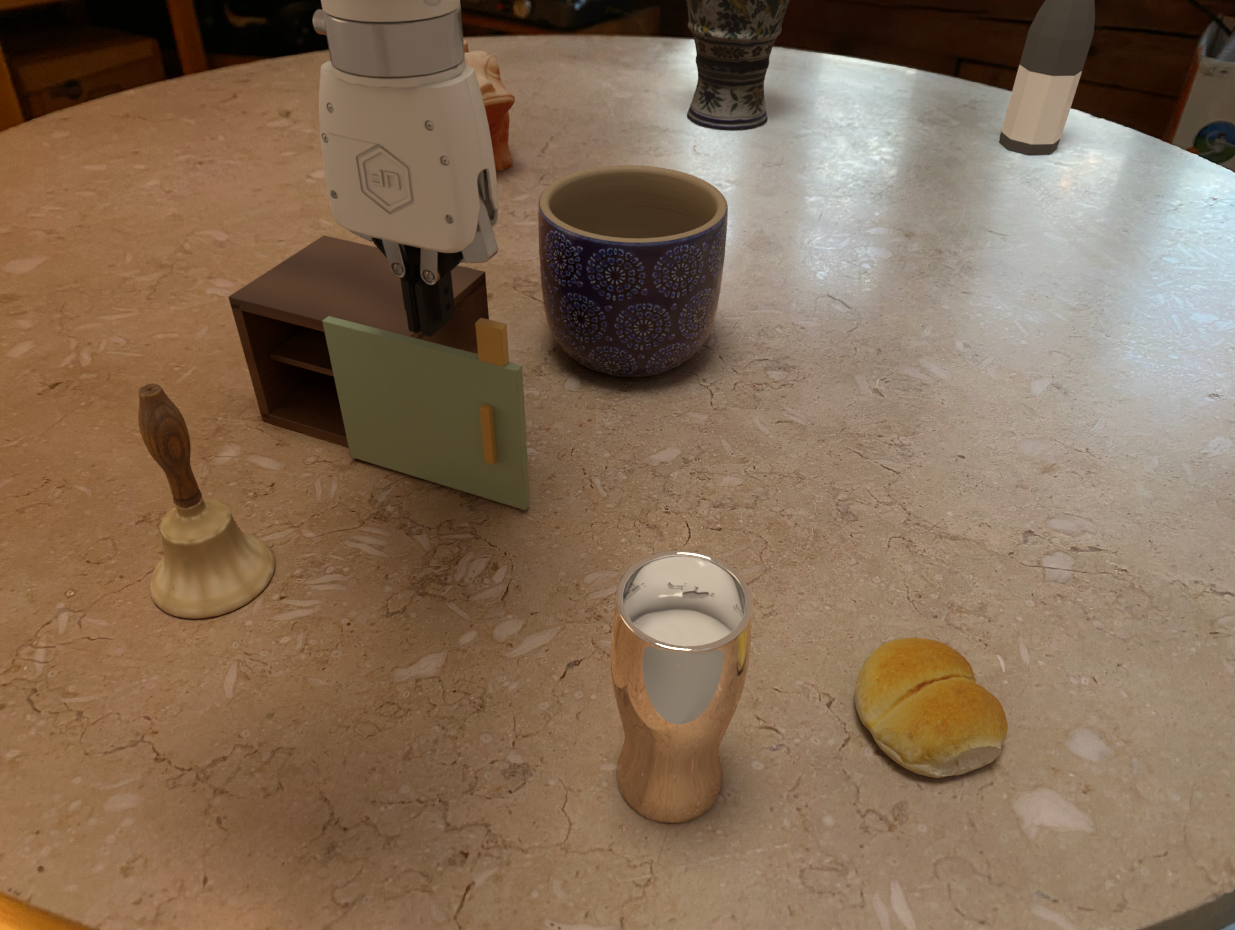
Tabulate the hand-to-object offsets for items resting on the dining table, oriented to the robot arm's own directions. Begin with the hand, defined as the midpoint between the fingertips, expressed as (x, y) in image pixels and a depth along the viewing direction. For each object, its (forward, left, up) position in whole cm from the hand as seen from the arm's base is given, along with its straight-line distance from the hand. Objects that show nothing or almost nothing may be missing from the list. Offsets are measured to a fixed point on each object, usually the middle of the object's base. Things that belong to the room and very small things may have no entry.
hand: (431, 324), depth 64 cm
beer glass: (-17, -25, -15) cm, 33 cm away
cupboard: (+7, +11, -15) cm, 20 cm away
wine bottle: (+99, -36, -15) cm, 106 cm away
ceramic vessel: (+61, +36, -15) cm, 73 cm away
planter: (+25, -5, -15) cm, 30 cm away
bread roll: (-7, -38, -15) cm, 41 cm away
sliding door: (0, +1, -15) cm, 14 cm away
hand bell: (-15, +10, -15) cm, 24 cm away
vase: (+92, +7, -15) cm, 94 cm away
